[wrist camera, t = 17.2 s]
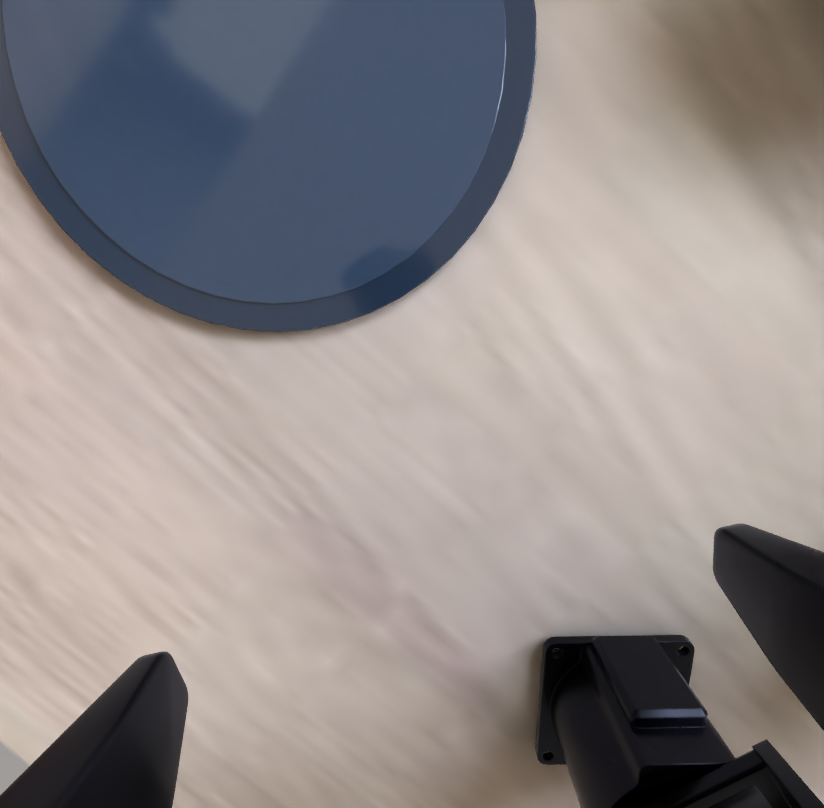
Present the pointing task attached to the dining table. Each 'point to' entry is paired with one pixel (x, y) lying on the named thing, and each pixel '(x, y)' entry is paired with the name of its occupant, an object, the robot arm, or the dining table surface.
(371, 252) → the plate
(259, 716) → the dining table surface
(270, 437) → the dining table surface
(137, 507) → the dining table surface
